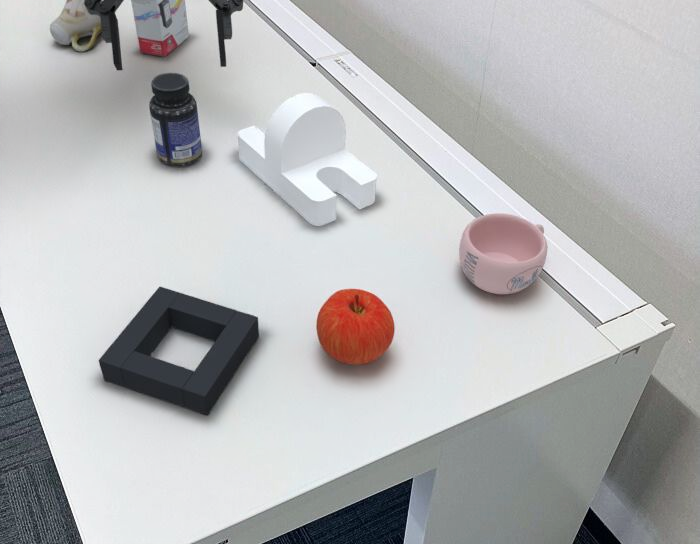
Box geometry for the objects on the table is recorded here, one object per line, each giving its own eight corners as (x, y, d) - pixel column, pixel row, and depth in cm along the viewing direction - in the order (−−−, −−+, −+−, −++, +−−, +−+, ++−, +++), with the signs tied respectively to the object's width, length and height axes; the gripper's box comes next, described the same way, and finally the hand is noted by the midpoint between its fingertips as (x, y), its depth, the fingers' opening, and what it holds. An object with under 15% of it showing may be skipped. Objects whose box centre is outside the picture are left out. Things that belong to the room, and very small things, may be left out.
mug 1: (39, 44, 126) (42, -22, 123) (92, 54, 133) (96, -8, 130) (64, 48, 121) (67, -21, 118) (117, 58, 129) (122, -6, 126)
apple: (300, 351, 82) (300, 296, 76) (350, 313, 87) (354, 259, 81) (356, 391, 79) (360, 337, 73) (405, 350, 83) (413, 296, 77)
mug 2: (496, 317, 87) (506, 278, 83) (437, 269, 92) (444, 230, 88) (566, 276, 93) (579, 238, 88) (507, 233, 98) (516, 195, 93)
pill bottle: (209, 148, 107) (201, 73, 99) (193, 172, 103) (184, 96, 95) (167, 140, 108) (156, 66, 100) (149, 164, 104) (137, 89, 96)
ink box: (164, 59, 124) (154, -17, 115) (137, 52, 125) (125, -23, 116) (191, 36, 130) (183, -37, 121) (164, 30, 131) (155, -43, 122)
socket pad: (103, 379, 78) (98, 360, 76) (163, 305, 86) (159, 286, 84) (207, 415, 76) (205, 396, 74) (259, 336, 83) (258, 316, 81)
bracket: (235, 156, 106) (230, 79, 98) (296, 134, 111) (296, 59, 102) (315, 228, 97) (317, 149, 88) (378, 201, 101) (385, 124, 93)
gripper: (251, -86, 106) (264, 70, 107) (62, -85, 102) (78, 77, 103) (252, -116, 98) (267, 52, 100) (49, -116, 95) (66, 59, 96)
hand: (171, 65), depth 101 cm, fingers open, 13 cm apart
